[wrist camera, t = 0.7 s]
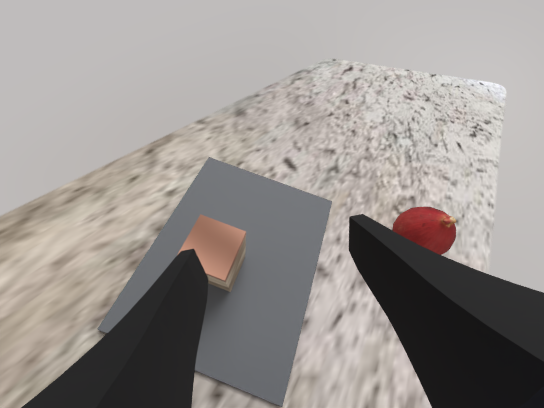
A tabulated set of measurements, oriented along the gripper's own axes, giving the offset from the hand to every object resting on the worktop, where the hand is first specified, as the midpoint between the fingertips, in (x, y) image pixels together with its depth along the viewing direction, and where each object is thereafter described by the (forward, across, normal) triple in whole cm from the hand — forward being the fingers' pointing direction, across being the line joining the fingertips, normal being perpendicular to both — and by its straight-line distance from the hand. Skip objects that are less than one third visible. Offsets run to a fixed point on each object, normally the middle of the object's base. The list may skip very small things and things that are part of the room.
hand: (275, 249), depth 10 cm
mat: (+11, +5, +10) cm, 16 cm away
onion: (+12, -16, +15) cm, 25 cm away
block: (+10, +6, +10) cm, 15 cm away
